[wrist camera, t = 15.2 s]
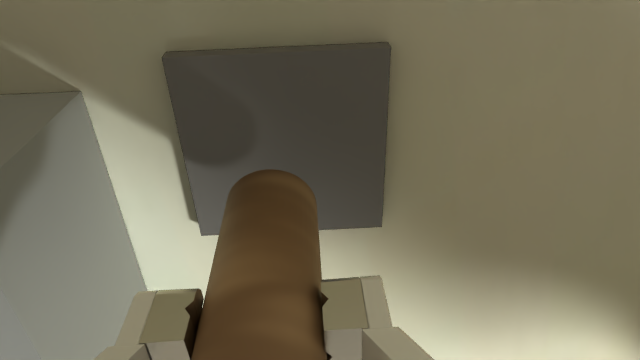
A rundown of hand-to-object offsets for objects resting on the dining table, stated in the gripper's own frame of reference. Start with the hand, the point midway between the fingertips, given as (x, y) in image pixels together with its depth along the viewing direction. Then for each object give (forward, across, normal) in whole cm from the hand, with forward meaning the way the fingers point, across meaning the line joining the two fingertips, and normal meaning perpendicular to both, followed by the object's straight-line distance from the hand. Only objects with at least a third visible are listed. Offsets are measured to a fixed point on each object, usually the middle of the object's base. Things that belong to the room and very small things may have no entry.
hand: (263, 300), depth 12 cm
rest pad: (+7, 0, 0) cm, 7 cm away
